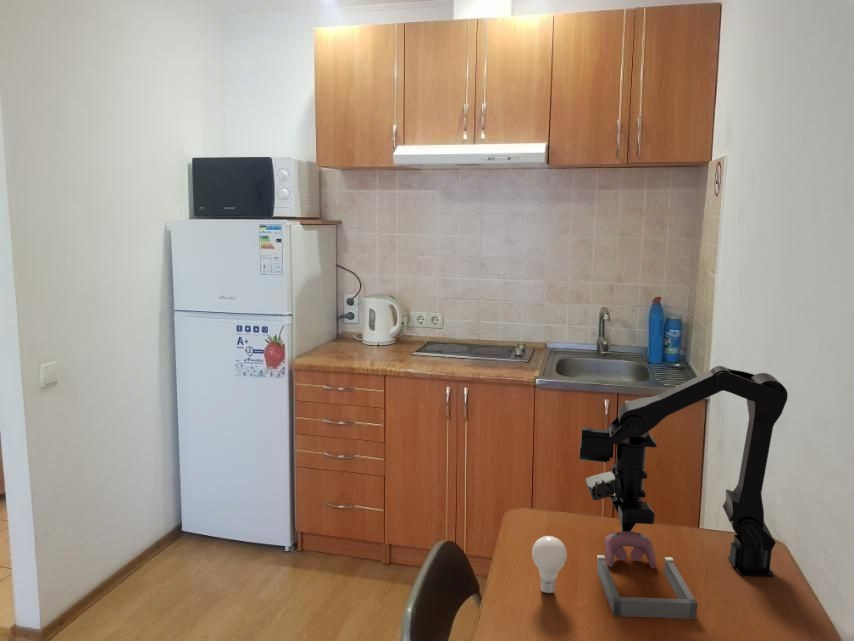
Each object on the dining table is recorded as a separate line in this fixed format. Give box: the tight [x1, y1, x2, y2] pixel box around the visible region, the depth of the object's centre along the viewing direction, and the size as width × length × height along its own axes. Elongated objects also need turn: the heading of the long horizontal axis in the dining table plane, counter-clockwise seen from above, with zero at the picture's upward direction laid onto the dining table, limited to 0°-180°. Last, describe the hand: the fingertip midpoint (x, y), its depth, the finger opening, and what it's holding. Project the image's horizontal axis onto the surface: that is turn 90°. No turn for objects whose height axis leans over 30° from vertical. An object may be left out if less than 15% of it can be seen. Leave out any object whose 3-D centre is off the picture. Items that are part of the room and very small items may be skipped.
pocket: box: [596, 554, 698, 620], centre depth 125 cm, size 15×15×3 cm
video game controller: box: [604, 530, 657, 569], centre depth 136 cm, size 10×5×7 cm, turn 87°
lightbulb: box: [531, 535, 568, 594], centre depth 124 cm, size 6×6×11 cm
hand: (625, 534), depth 139 cm, fingers closed
